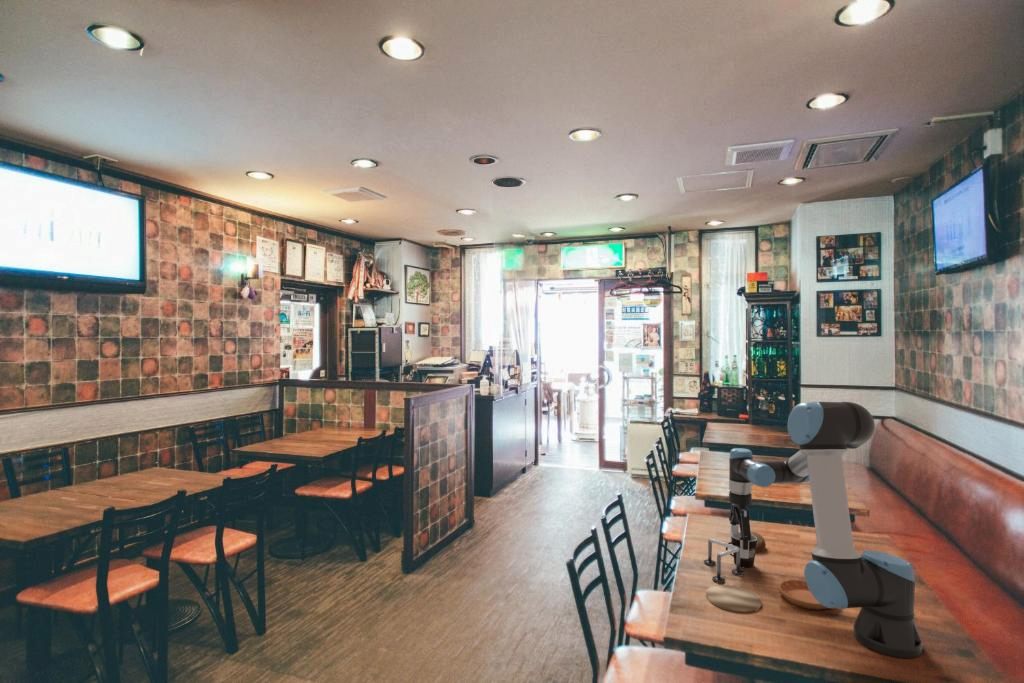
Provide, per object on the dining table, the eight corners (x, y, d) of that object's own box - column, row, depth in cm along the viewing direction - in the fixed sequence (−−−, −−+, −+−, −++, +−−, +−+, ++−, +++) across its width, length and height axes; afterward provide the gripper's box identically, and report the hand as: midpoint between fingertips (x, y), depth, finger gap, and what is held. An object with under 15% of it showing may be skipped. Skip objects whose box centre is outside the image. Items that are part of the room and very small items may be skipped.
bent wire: (751, 585, 177) (752, 558, 177) (713, 582, 179) (714, 555, 179) (737, 562, 195) (737, 538, 195) (703, 560, 197) (703, 536, 197)
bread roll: (735, 552, 214) (728, 535, 213) (754, 538, 217) (748, 521, 216) (753, 562, 205) (746, 544, 204) (773, 548, 208) (766, 530, 207)
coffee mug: (752, 560, 198) (752, 533, 198) (760, 570, 189) (760, 541, 189) (719, 558, 199) (719, 531, 199) (726, 568, 190) (726, 540, 190)
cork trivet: (768, 614, 159) (768, 612, 159) (712, 610, 161) (712, 607, 161) (752, 589, 175) (752, 587, 175) (701, 585, 177) (701, 583, 177)
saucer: (820, 618, 157) (820, 608, 157) (768, 596, 171) (768, 587, 171) (846, 604, 166) (846, 594, 166) (795, 584, 179) (795, 575, 179)
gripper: (761, 503, 181) (760, 565, 182) (741, 482, 206) (740, 537, 206) (738, 502, 182) (737, 564, 183) (721, 481, 207) (720, 536, 207)
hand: (739, 550), depth 194 cm, fingers open, 13 cm apart
